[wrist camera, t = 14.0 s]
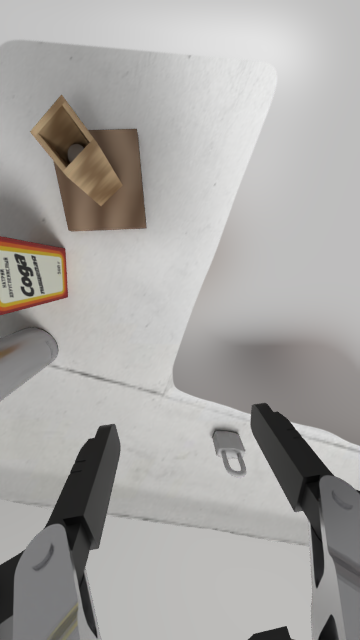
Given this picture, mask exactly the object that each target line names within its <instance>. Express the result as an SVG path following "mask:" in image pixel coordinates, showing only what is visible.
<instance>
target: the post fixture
mask: <svg viewBox="0 0 360 640" xmlns="http://www.w3.org/2000/svg"><path fill="white" fill-rule="evenodd" d="M88 131H89V133H90V134H91V135H92V137H93V138H94V139H95V141H96V142H97V143H98V145H99V147H100V148H101V150H102V152H103V153H104V155H105V157H106V158H107V160H108V162H109V163H110V165H111V167H112V168H113V170H114V172H115V173H116V175H117V177H118V178H119V180H120V182H121V183H122V186H121V187H120V188H119V189H118V190H117V191H116V192H115V193H114V194H113V195H112V196H111V197H110V198H109V199H108V200H107V201H106V202H105V203H104V204H103V205H102V206H100V205H99V204H98V203H97V202H95V201H94V200H93V199H92V198H91V197H90V196H88V195H87V194H86V193H85V192H84V191H83V190H82V189H80V188H79V187H78V186H77V185H76V184H75V183H74V182H72V181H71V180H70V179H69V178H68V177H67V176H66V175H65V174H64V173H63V171H62V170H61V169H60V168H59V167H58V165H57V164H56V163H55V162H54V165H55V170H56V174H57V179H58V184H59V188H60V193H61V197H62V202H63V207H64V211H65V216H66V221H67V225H68V230H69V231H93V230H117V229H141V228H146V217H145V207H144V196H143V185H142V175H141V164H140V153H139V142H138V133H137V129H117V130H88ZM83 149H84V147H83V146H81V145H79V144H73V145H71V146H70V147H69V149H68V159H69V161H70V163H71V162H72V161H73V160H74V159H75V158H76V157H77V156H78V155H79V153H80V152H81V151H82V150H83Z"/></svg>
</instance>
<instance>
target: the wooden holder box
mask: <svg viewBox="0 0 360 640" xmlns="http://www.w3.org/2000/svg"><path fill="white" fill-rule="evenodd" d="M30 132H31V134H32V135H33V136H34V137H35V139H36V140H37V141H38V142H39V143H40V145H41V146H42V147H43V148H44V150H45V151H46V152H47V153H48V154H49V156H50V157H51V158H52V159H53V160H54V162H55V163H56V164H57V165H58V167H59V168H60V169H61V170H62V171H63V173H64V174H65V175H66V176H67V177H68V178H69V179H70V180H71V181H72V182H74V183H75V184H76V185H77V186H78V187H79V188H80V189H82V190H83V191H84V192H85V193H86V194H87V195H88V196H90V197H91V198H92V199H93V200H94V201H95V202H97V203H98V204H99V205H100V206H102V205H103V204H104V203H105V202H106V201H107V200H108V199H109V198H110V197H111V196H112V195H113V194H114V193H115V192H116V191H117V190H118V189H119V188H120V187H121V186H122V183H121V182H120V180H119V178H118V177H117V175H116V173H115V172H114V170H113V168H112V167H111V165H110V163H109V162H108V160H107V158H106V157H105V155H104V153H103V152H102V150H101V148H100V147H99V145H98V143H97V142H96V141H95V139H94V138H93V137H92V135H91V134H90V133H89V131H88V130H87V128H86V127H85V126H84V124H83V123H82V122H81V120H80V119H79V118H78V116H77V115H76V113H75V112H74V111H73V109H72V108H71V107H70V105H69V104H68V103H67V101H66V100H65V99H64V97H63V96H62V95H61V96H60V97H59V98H58V99H57V100H56V102H55V103H54V104H53V105H52V106H51V108H50V109H49V110H48V111H47V112H46V114H45V115H44V116H43V117H42V118H41V119H40V121H39V122H38V123H37V124H36V125H35V127H34V128H33V129H32V130H31V131H30ZM73 144H79V145H81V146H83V147H84V149H83V150H82V151H81V152H80V153H79V155H78V156H77V157H76V158H75V159H74V160H73V161H72V162H71V163H70V161H69V159H68V149H69V147H70V146H71V145H73Z"/></svg>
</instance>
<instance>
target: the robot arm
mask: <svg viewBox="0 0 360 640" xmlns="http://www.w3.org/2000/svg"><path fill="white" fill-rule="evenodd" d="M57 354H58V347H57V344H56V342H55V340H54V339H53V337H52V336H51V335H50V334H48V333H47V332H45V331H43V330H41V329H37V328H26V329H23V330H21V331H18V332H16V333H13V334H11V335H8V336H6V337H3V338H1V339H0V401H1V400H3V399H4V398H5V397H7V396H8V395H9V394H11V393H12V392H13V391H15V390H16V389H17V388H18V387H20V386H21V385H22V384H24V383H25V382H26V381H28V380H29V379H30V378H32V377H33V376H34V375H35V374H37V373H38V372H39V371H41V370H42V369H43V368H45V367H46V366H47V365H49V364H50V363H51V362H52V361H54V360H55V358H56V357H57ZM251 429H252V433H253V435H254V437H255V439H256V441H257V443H258V444H259V446H260V448H261V450H262V452H263V454H264V456H265V458H266V459H267V461H268V463H269V465H270V467H271V469H272V471H273V473H274V474H275V476H276V478H277V480H278V482H279V484H280V486H281V488H282V489H283V491H284V493H285V495H286V497H287V499H288V501H289V503H290V504H291V506H292V508H293V510H294V512H299V511H304V513H305V515H306V516H307V518H308V532H309V547H310V562H311V577H312V603H311V605H312V606H311V626H312V627H311V628H312V640H360V491H358V490H355V489H354V488H353V487H352V486H351V485H349V484H348V483H347V482H345V481H344V480H342V479H340V478H338V477H335V476H334V475H333V474H332V473H331V472H330V471H329V470H328V468H327V467H326V466H325V465H324V463H323V462H322V461H321V460H320V458H319V457H318V456H317V455H316V454H315V452H314V451H313V450H312V449H311V447H310V446H309V445H308V444H307V442H306V441H305V440H304V439H303V438H302V437H301V435H300V434H299V433H298V431H297V430H295V428H294V426H293V425H292V424H291V423H290V421H289V420H288V419H287V418H286V417H284V416H283V415H282V414H280V413H279V412H273V411H272V410H271V408H270V407H269V406H268V404H266V403H261V404H254V405H252V410H251ZM119 456H120V441H119V437H118V433H117V429H116V426H115V424H110V425H103V426H100V427H99V428H98V431H97V433H96V436H95V438H92V439H88V441H87V442H86V443H85V444H84V446H83V447H82V448H81V450H80V452H79V454H78V456H77V458H76V461H75V464H74V465H73V467H72V470H71V472H70V475H69V476H68V479H67V481H66V483H65V485H64V487H63V490H62V492H61V494H60V496H59V499H58V501H57V503H56V505H55V508H54V510H53V512H52V514H51V517H50V519H49V521H48V523H47V524H46V526H45V528H44V529H43V530H42V531H41V532H40V533H39V534H38V535H36V536H35V537H34V539H33V540H32V541H31V542H30V544H29V545H28V546H27V548H26V549H25V550H24V551H22V552H21V553H20V554H18V555H16V556H15V557H13V558H11V559H10V560H8V561H6V562H4V563H3V564H1V565H0V640H101V636H100V632H99V627H98V623H97V618H96V614H95V609H94V605H93V600H92V596H91V591H90V587H89V582H88V578H87V573H86V569H85V566H86V562H87V558H88V554H89V550H93V549H98V548H99V545H100V540H101V536H102V531H103V527H104V522H105V518H106V514H107V509H108V505H109V500H110V496H111V492H112V487H113V483H114V478H115V474H116V470H117V465H118V461H119ZM248 640H294V639H291V638H290V635H289V632H288V629H287V626H285V627H281V628H277V629H273V630H269V631H264V632H260V633H256V634H253V636H251V637H250V638H249V639H248Z"/></svg>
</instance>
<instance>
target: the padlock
mask: <svg viewBox="0 0 360 640" xmlns="http://www.w3.org/2000/svg"><path fill="white" fill-rule="evenodd" d="M213 442H214V446H215V451H216V455H217V456H218V457H222V458H223V462H224V465H225V468H226V470H227V472H228V473H229V474H230V475H232V476H234V477H237V478H241V477H244V476H245V475H246V467H245V464H244V461H243V456H244V454H245V449H244V446H243V444H242V441H241V439H240V436H239V434H236V433H233V432H229V431H215V433H214V436H213ZM227 459H238V460H239V463H240V466H241V471H234V470H232V469H231V467H230V466H229V463H228V460H227Z"/></svg>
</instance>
